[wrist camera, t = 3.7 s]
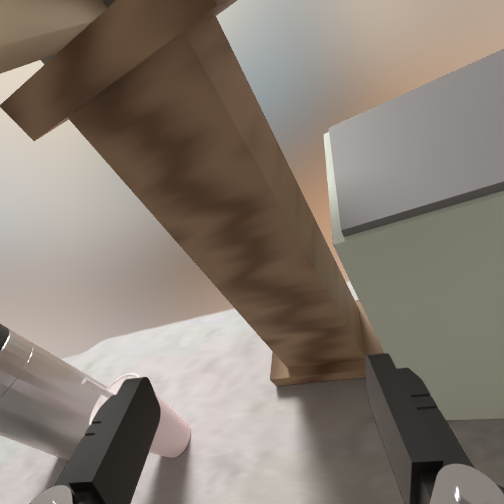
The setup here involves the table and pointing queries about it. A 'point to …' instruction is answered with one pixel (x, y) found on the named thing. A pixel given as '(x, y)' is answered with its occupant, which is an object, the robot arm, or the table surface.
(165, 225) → the wooden t-shaped stand
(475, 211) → the sage cabinet
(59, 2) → the hammer
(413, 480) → the robot arm
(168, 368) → the table surface
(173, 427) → the smoothie
